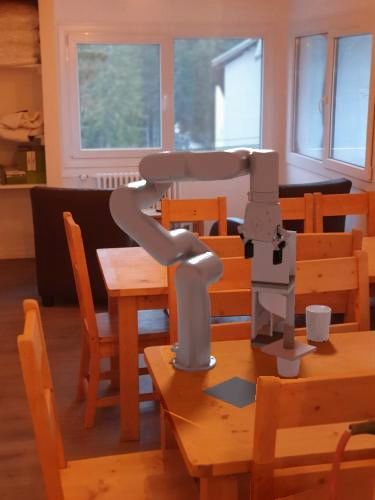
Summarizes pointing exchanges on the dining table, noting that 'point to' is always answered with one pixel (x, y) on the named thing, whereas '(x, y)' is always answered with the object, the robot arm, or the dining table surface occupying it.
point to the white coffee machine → (272, 291)
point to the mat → (234, 391)
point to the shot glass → (288, 367)
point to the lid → (288, 346)
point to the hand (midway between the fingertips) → (262, 261)
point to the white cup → (318, 322)
